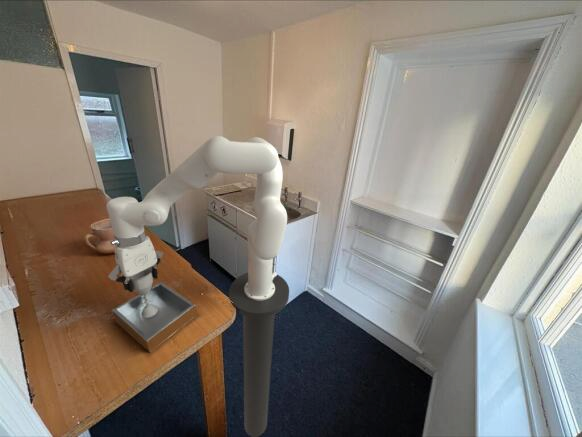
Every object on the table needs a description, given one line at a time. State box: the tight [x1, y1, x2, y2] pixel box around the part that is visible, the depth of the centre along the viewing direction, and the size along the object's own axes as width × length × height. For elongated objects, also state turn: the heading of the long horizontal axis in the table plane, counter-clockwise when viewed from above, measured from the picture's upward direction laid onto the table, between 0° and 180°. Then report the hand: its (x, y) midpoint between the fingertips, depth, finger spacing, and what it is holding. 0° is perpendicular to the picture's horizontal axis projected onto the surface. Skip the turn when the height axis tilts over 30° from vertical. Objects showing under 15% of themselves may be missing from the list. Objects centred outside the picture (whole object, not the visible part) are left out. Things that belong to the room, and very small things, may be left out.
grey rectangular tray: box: [111, 281, 198, 353], centre depth 80 cm, size 17×20×5 cm
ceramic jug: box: [84, 218, 115, 255], centre depth 112 cm, size 18×14×14 cm
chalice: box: [129, 267, 158, 318], centre depth 79 cm, size 7×7×18 cm
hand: (142, 283), depth 77 cm, fingers closed on chalice, 7 cm apart
